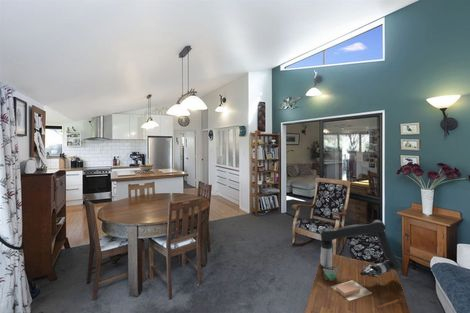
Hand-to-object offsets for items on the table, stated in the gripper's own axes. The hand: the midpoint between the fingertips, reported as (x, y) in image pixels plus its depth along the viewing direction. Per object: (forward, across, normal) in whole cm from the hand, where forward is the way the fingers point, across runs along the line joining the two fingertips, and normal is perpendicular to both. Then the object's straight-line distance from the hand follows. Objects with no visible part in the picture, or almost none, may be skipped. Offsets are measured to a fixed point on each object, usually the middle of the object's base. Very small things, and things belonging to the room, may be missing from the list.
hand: (361, 273), depth 183 cm
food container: (+13, -16, +11) cm, 24 cm away
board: (+10, 0, +11) cm, 15 cm away
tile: (+6, 0, +9) cm, 11 cm away
